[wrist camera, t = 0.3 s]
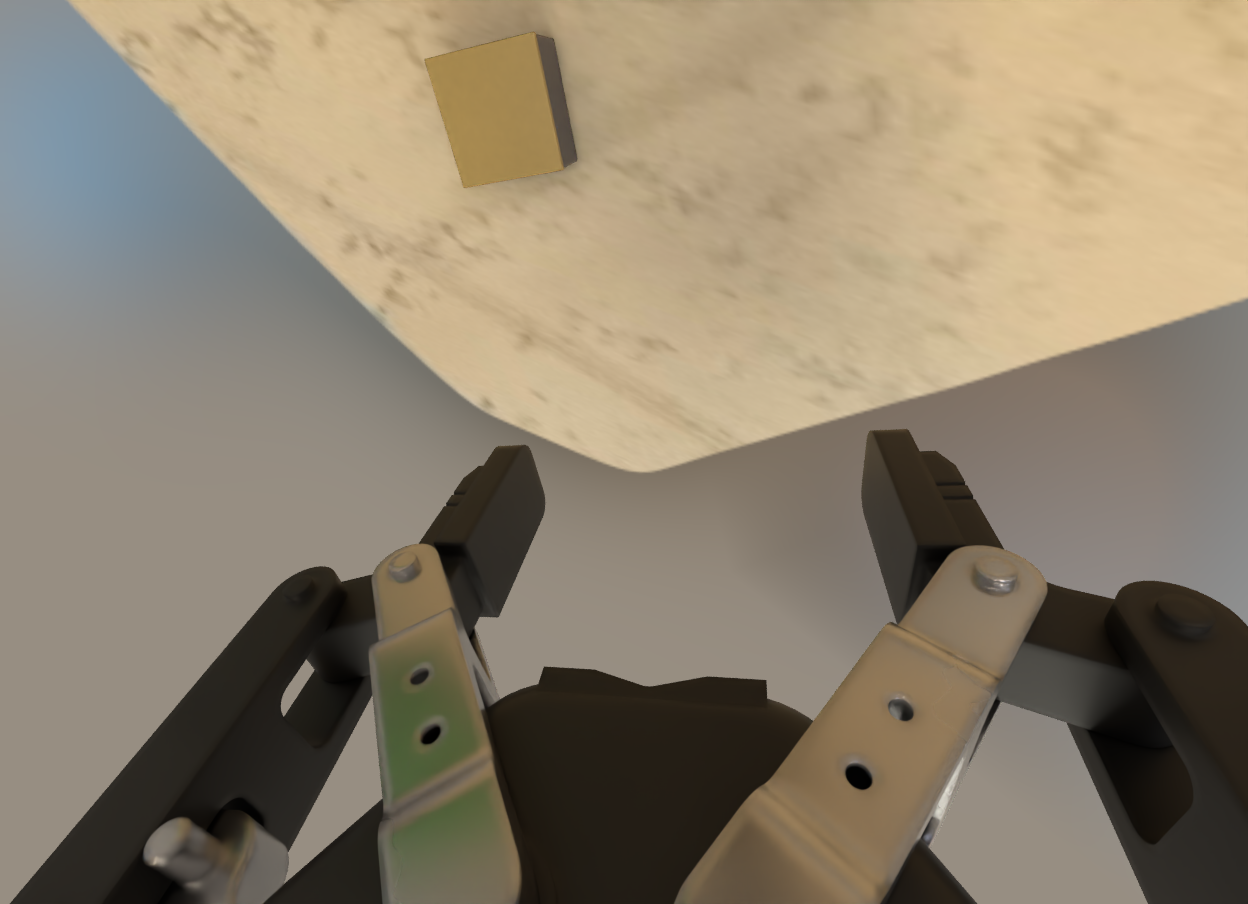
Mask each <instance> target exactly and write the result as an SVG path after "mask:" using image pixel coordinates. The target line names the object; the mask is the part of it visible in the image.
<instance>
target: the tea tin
mask: <svg viewBox="0 0 1248 904" xmlns="http://www.w3.org/2000/svg"><path fill="white" fill-rule="evenodd" d="M425 63H426V66H427V69H428V73H429V76H430V79H431V82H432V86H433V89H434V92H435V95H436V99H437V102H438V105H439V108H440V112H441V115H442V118H443V121H444V125H445V128H446V131H447V134H448V138H449V141H450V144H451V147H452V151H453V154H454V157H455V161H456V164H457V167H458V170H459V174H460V177H461V180H462V183H463V187H464V188H467V187H473V186H478V185H484V184H489V183H495V182H500V181H506V180H511V179H517V178H522V177H528V176H533V175H539V174H544V173H550V172H555V171H561V170H563V169H564V168H565V167H567V166H569V165H570V164H572V163H574V162H576V161H577V157H576V152H575V146H574V141H573V136H572V131H571V126H570V121H569V116H568V111H567V105H566V100H565V95H564V90H563V85H562V80H561V75H560V69H559V64H558V59H557V54H556V49H555V44H554V39H553V38H549V37H545V36H540V35H536V33H535V32H530V33H526V34H522V35H518V36H514V37H510V38H506V39H502V40H498V41H494V42H491V43H487V44H483V45H479V46H475V47H471V48H467V49H463V50H459V51H455V52H451V53H447V54H443V55H439V56H435V57H431V58H427V59H425Z"/></svg>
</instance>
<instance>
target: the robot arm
mask: <svg viewBox="0 0 1248 904" xmlns="http://www.w3.org/2000/svg"><path fill="white" fill-rule="evenodd" d="M861 492H862V507H863V513H864V516H865V520H866V523H867V526H868V530H869V533H870V536H871V539H872V543H873V546H874V549H875V553H876V556H877V559H878V563H879V566H880V569H881V573H882V576H883V579H884V583H885V586H886V589H887V593H888V596H889V599H890V603H891V606H892V609H893V612H894V616H895V619H896V622H897V625H896V624H894V623H893V622H889V623H887V624H886V625H885V626H884V627H883V628H882V630H881V631H880V632H879V633H878V635H877V636H876V637H875V639H874V640H873V642H872V643H871V644H870V645H869V647H868V648H867V650H866V651H865V652H864V654H863V655H862V656H861V658H860V659H859V660H858V662H857V663H856V664H855V666H854V667H853V668H852V670H851V671H850V672H849V674H848V675H847V677H846V678H845V679H844V681H843V682H842V683H841V685H840V686H839V687H838V689H837V690H836V691H835V693H834V694H833V695H832V697H831V698H830V700H829V701H828V702H827V704H826V705H825V706H824V708H823V709H822V710H821V712H820V713H819V714H818V716H817V717H816V718H815V720H814V721H812V720H811V719H810V718H808V717H807V716H805V715H803V714H801V713H800V712H798V711H796V710H795V709H793V708H790V707H788V706H786V705H784V704H782V703H779V702H776V701H773V700H770V699H767V685H766V680H755V679H738V678H723V677H702V678H697V679H691V680H686V681H680V682H675V683H669V684H663V685H658V686H651V687H648V686H642V685H639V684H636V683H633V682H630V681H627V680H624V679H621V678H618V677H615V676H612V675H609V674H606V673H603V672H600V671H597V670H591V669H574V668H557V667H544V668H543V671H542V674H541V678H540V681H539V684H537V685H533V686H530V687H526V688H523V689H520V690H518V691H516V692H514V693H511V694H509V695H507V696H505V697H503V698H502V699H500V697H499V695H498V692H497V689H496V686H495V683H494V680H493V677H492V674H491V671H490V668H489V665H488V662H487V659H486V656H485V653H484V650H483V647H482V644H481V641H480V638H479V635H478V633H477V631H476V629H475V625H476V623H477V621H478V619H479V617H499V615H500V613H501V611H502V608H503V606H504V604H505V601H506V599H507V597H508V595H509V592H510V590H511V588H512V586H513V583H514V581H515V579H516V577H517V574H518V572H519V570H520V567H521V565H522V563H523V560H524V559H525V556H526V554H527V552H528V549H529V547H530V545H531V543H532V540H533V538H534V536H535V534H536V531H537V529H538V526H539V525H540V522H541V520H542V518H543V515H544V511H545V495H544V491H543V488H542V485H541V481H540V478H539V475H538V472H537V468H536V465H535V462H534V459H533V456H532V453H531V450H530V448H529V447H528V446H526V445H514V446H498V447H496V448H495V449H494V451H493V452H492V454H491V455H490V457H489V458H488V460H487V461H486V463H485V465H484V466H478V467H477V468H476V469H475V470H473V471H472V472H471V473H470V474H468V475H467V476H466V477H465V478H463V480H462V481H461V483H460V484H459V486H458V487H457V489H456V490H455V491H454V495H452V496H451V497H450V499H449V500H448V502H447V503H446V506H444V507H443V509H442V511H441V512H440V513H439V515H438V516H437V518H436V519H435V521H434V522H433V523H432V525H431V526H430V528H429V529H428V531H427V532H426V534H425V535H424V537H423V538H422V539H421V541H420V543H419V544H413V545H409V546H406V547H403V548H401V549H398V550H396V551H395V552H393V553H392V554H390V555H388V556H387V557H386V558H385V559H384V560H383V561H381V562H380V564H379V565H378V566H377V567H376V569H375V570H374V573H373V574H372V575H368V576H364V577H360V578H356V579H352V580H348V581H344V582H341V581H340V579H339V578H338V576H337V575H336V573H335V572H334V570H332V569H331V568H329V567H321V566H320V567H314V568H309V569H306V570H303V571H301V572H299V573H297V574H295V575H293V576H291V577H290V578H288V579H287V580H285V581H284V582H283V583H281V584H280V585H279V586H278V587H277V588H276V589H275V590H274V591H273V592H272V593H271V595H270V596H269V597H268V598H267V599H266V601H265V602H264V603H263V604H262V605H261V606H260V608H259V609H258V610H257V611H256V613H255V614H254V615H253V616H252V617H251V618H250V620H249V621H248V622H247V623H246V624H245V626H244V627H243V628H242V629H241V630H240V631H239V633H238V634H237V635H236V636H235V637H234V638H233V640H232V641H231V642H230V643H229V644H228V646H227V647H226V648H225V649H224V650H223V652H222V653H221V654H220V655H219V656H218V658H217V659H216V660H215V661H214V662H213V663H212V665H211V666H210V667H209V668H208V669H207V671H206V672H205V673H204V674H203V675H202V677H201V678H200V679H199V680H198V681H197V683H196V684H195V685H194V686H193V687H192V688H191V690H190V691H189V692H188V693H187V694H186V695H185V697H184V698H183V699H182V700H181V701H180V703H179V704H178V705H177V706H176V707H175V709H174V710H173V711H172V712H171V713H170V714H169V716H168V717H167V718H166V719H165V720H164V722H163V723H162V724H161V725H160V726H159V727H158V729H157V730H156V731H155V732H154V733H153V735H152V736H151V737H150V738H149V739H148V741H147V742H146V743H145V744H144V745H143V747H142V748H141V749H140V750H139V751H138V752H137V754H136V755H135V756H134V757H133V758H132V759H131V761H130V762H129V763H128V764H127V765H126V767H125V768H124V769H123V770H122V771H121V773H120V774H119V775H118V776H117V777H116V779H115V780H114V781H113V782H112V783H111V784H110V786H109V787H108V788H107V789H106V790H105V791H104V793H103V794H102V795H101V796H100V797H99V799H98V800H97V801H96V802H95V803H94V805H93V806H92V807H91V808H90V809H89V811H88V812H87V813H86V814H85V815H84V816H83V818H82V819H81V820H80V821H79V822H78V824H77V825H76V826H75V827H74V828H73V829H72V831H71V832H70V833H69V835H67V837H66V838H65V839H64V840H63V841H62V842H61V844H60V845H59V846H58V847H57V849H56V850H55V851H54V852H53V853H52V854H51V856H50V857H49V858H48V859H47V860H46V861H45V863H44V864H43V865H42V866H41V867H40V869H39V870H38V871H37V872H36V874H35V875H34V876H33V877H32V878H31V879H30V880H29V882H28V883H27V884H26V885H25V886H24V888H23V889H22V890H21V891H20V892H19V893H18V895H17V896H16V897H15V898H14V899H13V901H12V902H11V903H10V904H977V903H976V902H975V901H974V899H973V898H972V897H971V896H970V895H969V894H968V893H967V891H966V890H965V889H964V888H963V887H962V886H961V884H960V883H959V882H958V881H957V880H956V879H955V878H954V876H953V875H952V874H951V873H950V872H949V870H948V869H947V868H946V867H945V866H944V865H943V864H942V862H941V861H940V860H939V859H938V858H937V857H936V856H935V854H934V853H933V852H932V851H931V850H930V847H931V846H932V844H933V841H934V840H935V838H936V836H937V834H938V832H939V830H940V828H941V826H942V823H943V822H944V819H945V817H946V815H947V813H948V811H949V809H950V807H951V805H952V802H953V800H954V798H955V796H956V794H957V791H958V789H959V787H960V785H961V783H962V781H963V778H964V777H965V775H966V773H967V771H968V769H969V767H970V764H971V763H972V761H973V759H974V757H975V755H976V753H977V751H978V749H979V747H980V745H981V743H982V741H983V739H984V737H985V735H986V733H987V731H988V729H989V727H990V725H991V723H992V721H993V719H994V717H995V715H996V713H997V711H998V709H999V707H1000V705H1001V703H1002V702H1005V703H1008V704H1011V705H1014V706H1017V707H1020V708H1024V709H1027V710H1030V711H1033V712H1036V713H1039V714H1042V715H1046V716H1048V717H1051V718H1055V719H1057V720H1061V721H1064V722H1066V723H1067V725H1068V727H1069V729H1070V731H1071V734H1072V736H1073V738H1074V740H1075V743H1076V745H1077V747H1078V749H1079V751H1080V753H1081V756H1082V758H1083V760H1084V763H1085V765H1086V767H1087V769H1088V771H1089V773H1090V776H1091V778H1092V780H1093V783H1094V785H1095V787H1096V789H1097V791H1098V794H1099V796H1100V798H1101V800H1102V803H1103V805H1104V807H1105V809H1106V811H1107V814H1108V816H1109V818H1110V820H1111V823H1112V825H1113V827H1114V829H1115V831H1116V834H1117V836H1118V838H1119V840H1120V843H1121V845H1122V847H1123V849H1124V851H1125V853H1126V856H1127V858H1128V860H1129V862H1130V865H1131V867H1132V869H1133V871H1134V874H1135V876H1136V878H1137V880H1138V882H1139V885H1140V887H1141V889H1142V891H1143V894H1144V896H1145V898H1146V900H1147V902H1148V904H1248V626H1247V625H1246V624H1245V623H1244V622H1243V621H1242V620H1241V619H1240V618H1239V617H1238V616H1237V615H1236V614H1235V613H1234V612H1232V611H1231V610H1230V609H1229V608H1227V607H1225V606H1224V605H1223V604H1221V603H1220V602H1218V601H1216V600H1214V599H1212V598H1211V597H1208V596H1206V595H1204V594H1202V593H1200V592H1198V591H1195V590H1192V589H1189V588H1186V587H1183V586H1180V585H1176V584H1172V583H1166V582H1159V581H1139V582H1134V583H1130V584H1128V585H1126V586H1124V587H1122V588H1121V590H1120V591H1119V592H1118V594H1117V596H1116V598H1115V599H1111V598H1106V597H1102V596H1098V595H1093V594H1089V593H1085V592H1080V591H1075V590H1071V589H1067V588H1063V587H1060V586H1056V585H1054V584H1051V583H1048V582H1046V580H1045V578H1044V577H1043V575H1042V574H1041V572H1040V571H1039V570H1038V569H1037V568H1036V567H1035V566H1034V565H1033V564H1031V563H1030V562H1029V561H1027V560H1026V559H1024V558H1022V557H1020V556H1018V555H1017V554H1014V553H1012V552H1010V551H1007V550H1004V548H1003V546H1002V545H1001V543H1000V541H999V540H998V538H997V536H996V534H995V533H994V531H993V529H992V527H991V526H990V524H989V522H988V521H987V519H986V517H985V515H984V514H983V512H982V510H981V509H980V507H979V505H978V503H977V502H976V500H975V499H973V495H972V493H971V491H970V490H969V488H968V486H967V485H965V481H964V479H963V477H962V476H961V474H960V472H959V471H958V469H957V467H956V465H954V464H953V463H952V462H950V461H949V460H948V459H946V458H945V457H943V456H942V455H941V454H939V453H938V452H936V451H922V452H920V451H919V449H918V448H917V445H916V444H915V442H914V440H913V438H912V436H911V434H910V432H909V430H907V429H898V430H897V429H896V430H874V431H869V433H868V436H867V442H866V451H865V460H864V470H863V479H862V491H861ZM306 659H307V661H308V662H309V663H310V664H311V666H312V667H313V668H314V669H315V670H314V672H313V674H312V675H311V677H310V678H309V680H308V681H307V683H306V684H305V686H304V687H303V689H302V690H301V692H300V693H299V695H298V697H297V698H296V699H295V701H294V702H293V704H292V705H291V707H290V709H289V710H288V712H287V713H286V715H285V716H284V717H283V715H282V712H281V699H282V696H283V693H284V691H285V690H286V688H287V686H288V685H289V683H290V682H291V681H292V679H293V678H294V676H295V675H296V673H297V672H298V670H299V669H300V667H301V666H302V665H303V663H304V661H305V660H306ZM372 695H373V705H374V715H375V724H376V735H377V746H378V755H379V766H380V776H381V787H382V797H383V799H381V800H380V801H379V802H378V803H377V804H376V805H375V806H373V807H372V808H371V809H370V810H369V811H368V812H366V813H365V814H364V815H363V816H362V817H361V818H360V819H359V820H357V821H356V822H355V823H354V824H353V825H351V826H350V827H349V828H348V829H347V830H346V831H345V832H344V833H342V834H341V835H340V836H339V837H338V838H337V839H335V840H334V841H333V842H332V843H331V844H330V845H329V846H327V847H326V848H325V849H324V850H323V851H322V852H320V853H319V854H318V855H317V856H316V857H315V858H314V859H313V860H311V861H310V862H309V863H308V864H307V865H305V866H304V867H303V868H302V869H301V870H300V871H299V872H297V873H296V874H295V875H294V876H293V877H292V878H291V879H289V880H288V881H287V882H286V883H285V884H284V881H285V879H286V875H287V872H288V865H289V856H288V852H289V850H290V848H291V846H292V844H293V842H294V841H295V839H296V837H297V835H298V833H299V831H300V829H301V827H302V826H303V824H304V822H305V820H306V818H307V816H308V814H309V813H310V811H311V809H312V807H313V805H314V803H315V801H316V799H317V798H318V795H319V794H320V792H321V790H322V788H323V786H324V784H325V782H326V781H327V779H328V777H329V775H330V773H331V771H332V769H333V768H334V765H335V764H336V762H337V760H338V758H339V756H340V754H341V753H342V751H343V749H344V747H345V745H346V743H347V741H348V739H349V738H350V736H351V734H352V732H353V730H354V728H355V726H356V725H357V722H358V721H359V719H360V717H361V715H362V713H363V711H364V710H365V708H366V706H367V704H368V702H369V700H370V698H371V696H372ZM283 884H284V885H283Z"/></svg>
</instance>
